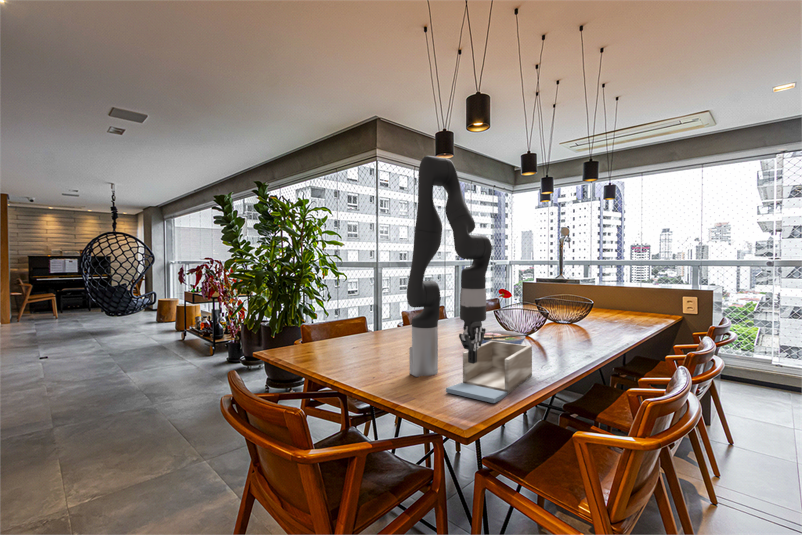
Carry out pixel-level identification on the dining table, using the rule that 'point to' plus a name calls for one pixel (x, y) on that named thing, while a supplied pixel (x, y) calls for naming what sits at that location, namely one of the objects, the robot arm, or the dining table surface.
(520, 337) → the ramen bowl
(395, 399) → the dining table surface
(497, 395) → the grey panel
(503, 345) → the crate
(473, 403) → the dining table surface
